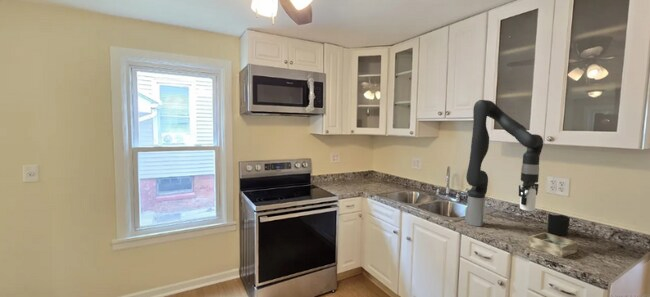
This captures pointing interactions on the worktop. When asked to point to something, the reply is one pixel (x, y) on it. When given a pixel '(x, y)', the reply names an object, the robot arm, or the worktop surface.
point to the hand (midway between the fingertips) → (527, 203)
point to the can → (529, 201)
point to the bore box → (553, 244)
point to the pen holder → (558, 224)
